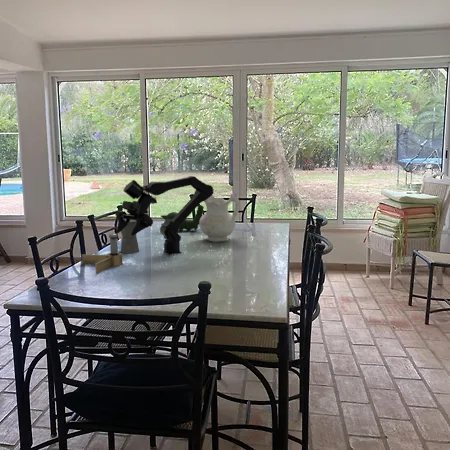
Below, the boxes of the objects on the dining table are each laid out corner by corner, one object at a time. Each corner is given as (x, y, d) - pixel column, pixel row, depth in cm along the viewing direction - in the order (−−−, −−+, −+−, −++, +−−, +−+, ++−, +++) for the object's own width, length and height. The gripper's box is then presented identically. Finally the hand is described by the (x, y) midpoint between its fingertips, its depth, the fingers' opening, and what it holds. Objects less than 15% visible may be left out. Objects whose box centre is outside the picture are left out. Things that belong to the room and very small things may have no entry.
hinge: (113, 259, 201) (113, 249, 201) (129, 268, 186) (129, 257, 185) (82, 263, 194) (81, 253, 193) (96, 273, 179) (95, 262, 178)
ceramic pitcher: (241, 238, 250) (241, 193, 248) (238, 243, 231) (238, 194, 229) (202, 238, 253) (202, 193, 250) (196, 242, 233) (196, 194, 231)
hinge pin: (117, 262, 195) (116, 233, 193) (120, 264, 192) (119, 234, 189) (108, 264, 193) (107, 234, 190) (112, 266, 190) (110, 235, 187)
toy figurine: (202, 232, 273) (161, 228, 273) (205, 201, 269) (163, 197, 270) (200, 235, 263) (158, 231, 264) (203, 202, 260) (160, 198, 261)
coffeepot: (144, 252, 214) (143, 214, 211) (125, 255, 209) (124, 216, 206) (132, 246, 226) (130, 210, 223) (113, 248, 221) (112, 212, 218)
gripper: (117, 192, 201) (98, 220, 195) (147, 195, 191) (128, 224, 184) (131, 208, 209) (114, 235, 202) (161, 211, 198) (143, 240, 191)
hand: (124, 233), depth 195 cm, fingers open, 9 cm apart
